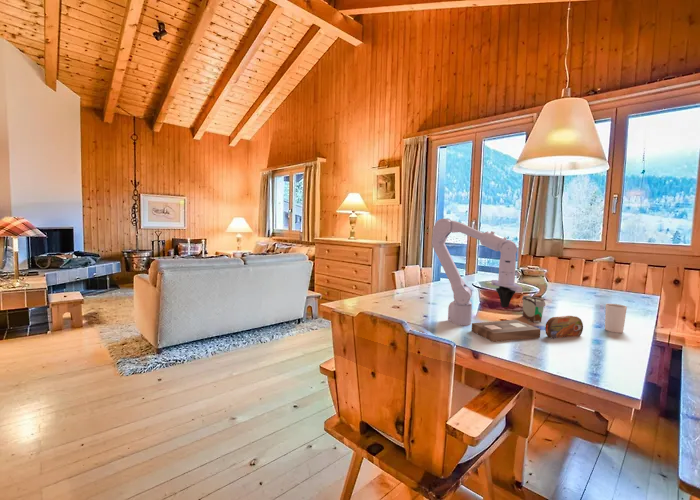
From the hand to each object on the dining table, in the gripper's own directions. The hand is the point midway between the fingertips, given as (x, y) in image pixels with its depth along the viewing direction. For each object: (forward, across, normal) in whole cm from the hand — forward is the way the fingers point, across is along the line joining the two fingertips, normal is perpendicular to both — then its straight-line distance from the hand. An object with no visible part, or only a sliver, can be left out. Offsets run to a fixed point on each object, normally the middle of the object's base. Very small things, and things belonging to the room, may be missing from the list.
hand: (504, 306), depth 134 cm
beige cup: (+10, -10, -44) cm, 46 cm away
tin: (+10, -13, -15) cm, 22 cm away
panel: (+9, -6, +4) cm, 12 cm away
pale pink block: (+8, -6, +10) cm, 14 cm away
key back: (+8, -6, -1) cm, 10 cm away
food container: (+10, +7, -22) cm, 25 cm away
